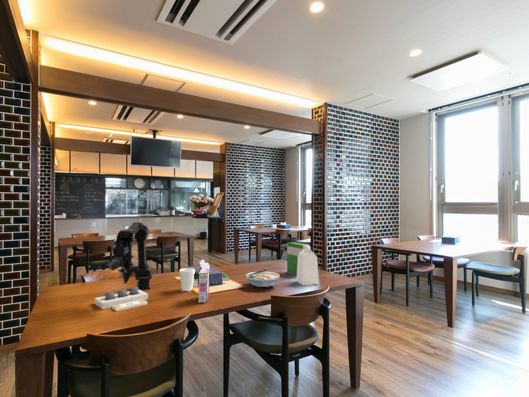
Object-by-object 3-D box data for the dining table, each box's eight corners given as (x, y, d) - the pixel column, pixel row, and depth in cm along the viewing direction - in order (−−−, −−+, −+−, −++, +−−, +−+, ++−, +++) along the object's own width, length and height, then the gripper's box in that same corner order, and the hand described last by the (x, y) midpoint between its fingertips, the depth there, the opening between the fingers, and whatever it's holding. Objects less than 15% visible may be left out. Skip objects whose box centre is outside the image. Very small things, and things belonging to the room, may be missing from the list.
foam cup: (197, 289, 193) (197, 268, 193) (189, 293, 184) (189, 271, 185) (184, 287, 196) (184, 267, 196) (176, 291, 188) (176, 270, 188)
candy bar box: (207, 303, 167) (207, 273, 167) (198, 303, 166) (198, 273, 167) (209, 296, 178) (209, 268, 178) (200, 297, 177) (200, 268, 178)
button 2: (136, 292, 176) (136, 286, 176) (139, 294, 173) (139, 288, 173) (128, 294, 173) (128, 288, 173) (131, 296, 170) (131, 289, 170)
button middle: (124, 295, 171) (124, 288, 171) (127, 296, 168) (127, 290, 168) (116, 296, 168) (116, 290, 168) (119, 298, 165) (119, 292, 165)
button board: (139, 294, 181) (139, 289, 181) (148, 299, 173) (148, 293, 173) (94, 303, 164) (94, 298, 164) (102, 309, 156) (102, 303, 156)
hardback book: (309, 275, 232) (309, 244, 233) (301, 277, 228) (302, 245, 228) (294, 271, 247) (294, 241, 247) (287, 272, 243) (287, 242, 243)
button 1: (112, 297, 167) (112, 291, 167) (115, 299, 164) (115, 292, 164) (103, 299, 164) (104, 292, 164) (106, 301, 161) (106, 294, 161)
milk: (318, 284, 207) (318, 246, 207) (302, 285, 204) (303, 246, 204) (311, 280, 219) (311, 244, 219) (296, 281, 216) (296, 244, 216)
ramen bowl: (264, 294, 184) (265, 280, 184) (237, 287, 198) (237, 274, 198) (287, 285, 204) (287, 273, 204) (260, 280, 218) (260, 268, 218)
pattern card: (142, 301, 168) (142, 298, 168) (147, 304, 164) (147, 301, 164) (111, 308, 157) (112, 305, 157) (116, 311, 153) (116, 308, 153)
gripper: (103, 253, 162) (103, 282, 162) (116, 258, 149) (116, 290, 149) (124, 251, 170) (124, 279, 170) (139, 255, 158) (138, 285, 157)
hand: (125, 283), depth 162 cm, fingers closed
